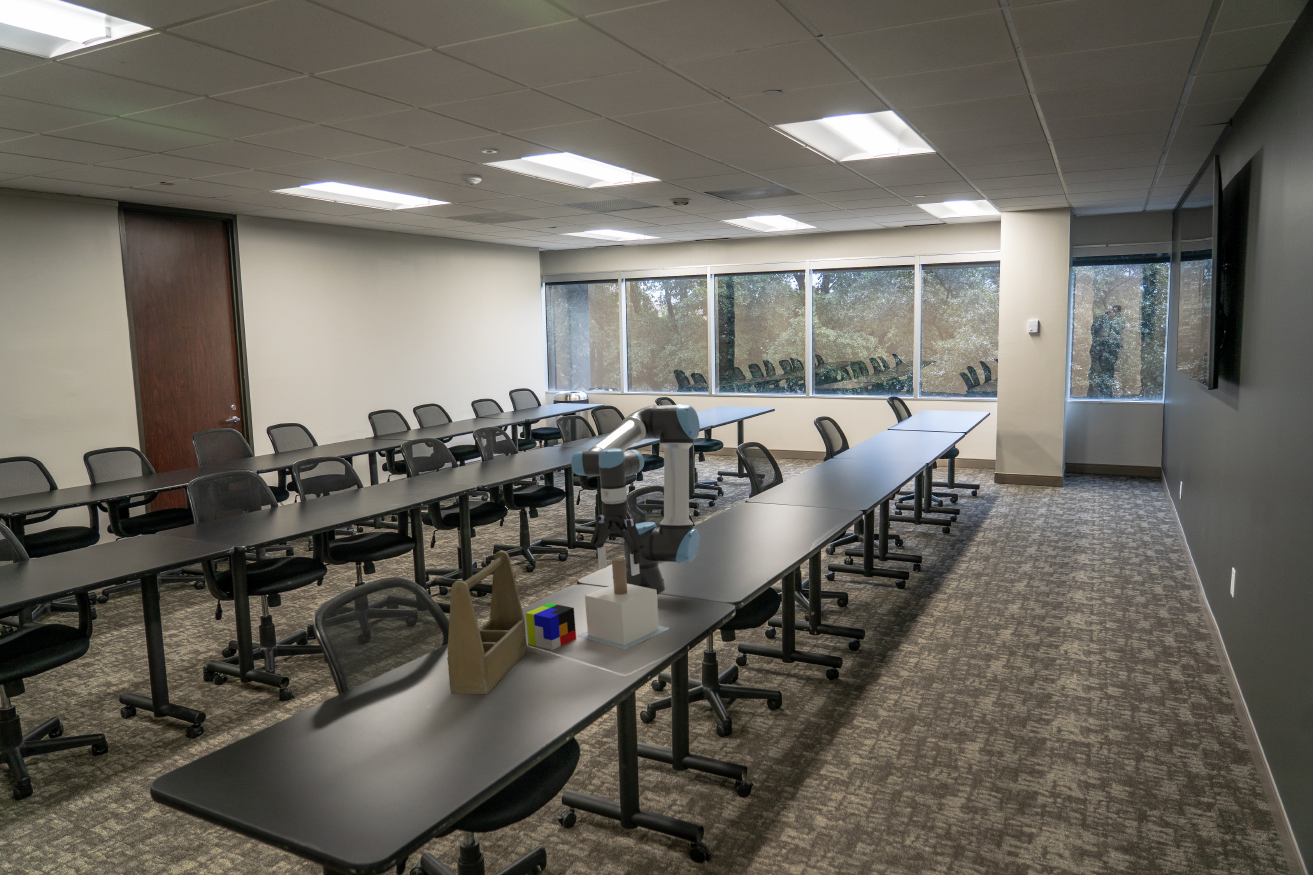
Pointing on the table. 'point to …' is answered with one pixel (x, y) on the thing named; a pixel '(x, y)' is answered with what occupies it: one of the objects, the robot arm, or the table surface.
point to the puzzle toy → (550, 626)
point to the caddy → (485, 631)
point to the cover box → (621, 609)
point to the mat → (661, 629)
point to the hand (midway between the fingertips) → (618, 571)
